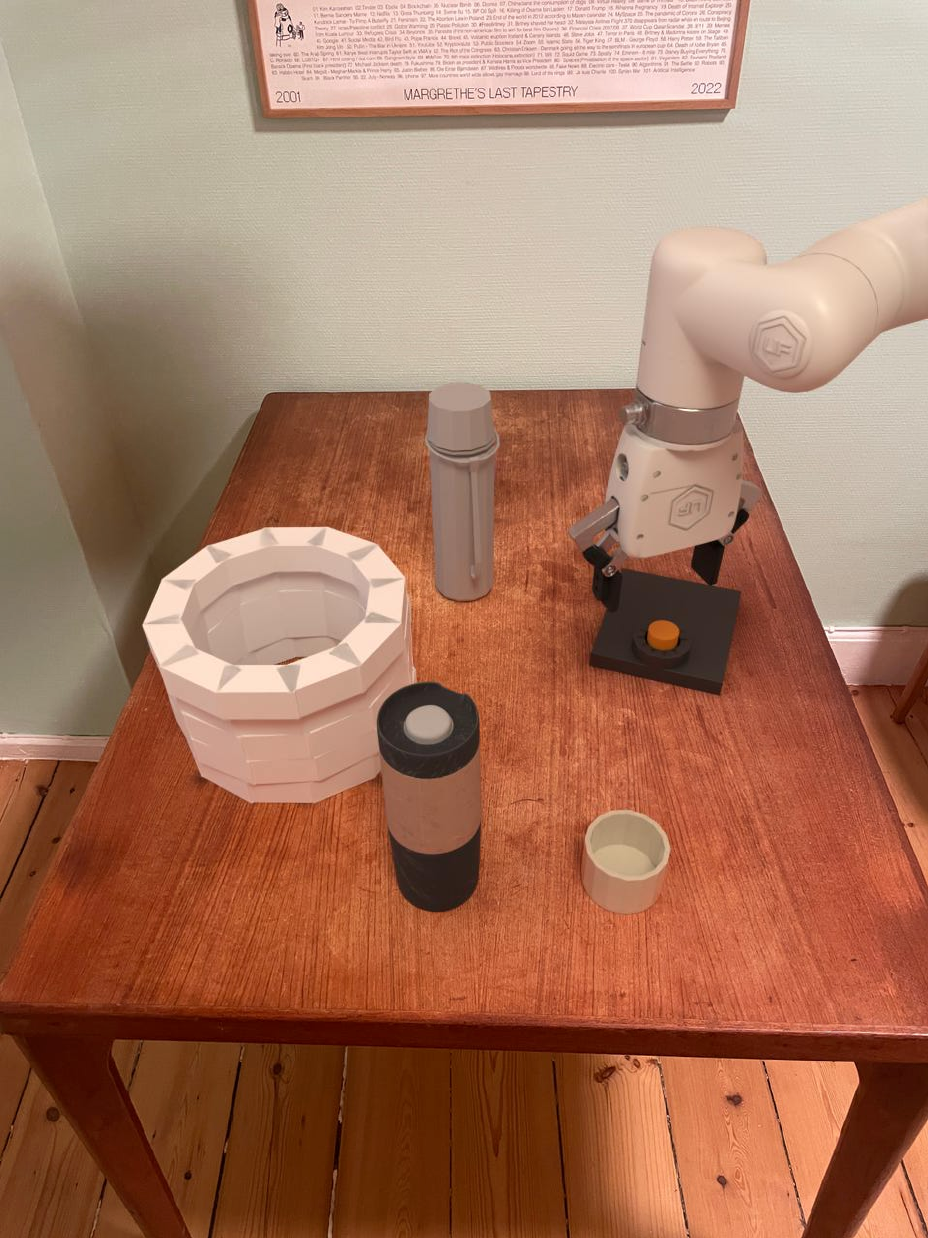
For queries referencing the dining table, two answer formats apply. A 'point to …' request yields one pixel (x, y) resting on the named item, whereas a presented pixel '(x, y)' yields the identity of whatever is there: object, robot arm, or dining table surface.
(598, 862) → the bowl
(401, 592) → the container
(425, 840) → the travel mug
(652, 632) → the button
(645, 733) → the dining table surface
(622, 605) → the scale
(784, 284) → the robot arm
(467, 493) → the water bottle
